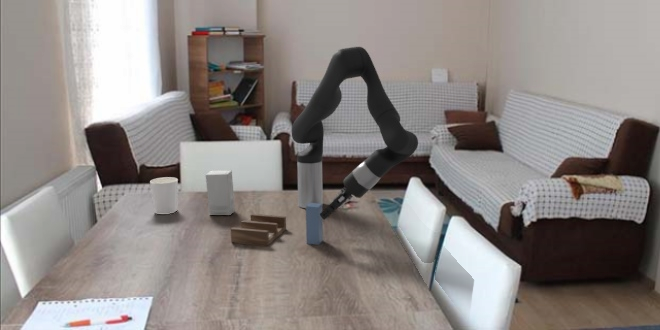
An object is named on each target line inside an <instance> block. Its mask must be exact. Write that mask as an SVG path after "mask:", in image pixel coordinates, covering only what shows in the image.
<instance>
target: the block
mask: <svg viewBox="0 0 660 330" xmlns="http://www.w3.org/2000/svg"><path fill="white" fill-rule="evenodd" d="M321 212H323V205H322V204H319V203H309V204H308V205H307V206H306V208H305V221H306V222H305V224H306V225H305V226H306V227H305V229H306V231H305V232H306V244H308V245H318V246H319V245H321V243H322V242H323V241H324V240H323V239H324V238H323V237H324V235H323V234H324V230H323V228H324V227H323V226H324V224H323V223H324V219H323V218H322V217H321V216H320V213H321Z"/></svg>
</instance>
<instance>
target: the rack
mask: <svg viewBox="0 0 660 330" xmlns="http://www.w3.org/2000/svg"><path fill="white" fill-rule="evenodd" d="M286 230H287V216H285V215H283V216H282V215H273V214H259V213H251V214H250V220H243V219H242V220H241V222H240V227H232V228H230V242H236V243H235V244H240V243H243V245H250V244H252V245H251V246H260V245H261V246H262V247H268V246H269V245H270V244H272V242H274V241H275V240H276V239H277V238H278V237H279V236H280V235H281V234H282V233H284V232H285V231H286Z"/></svg>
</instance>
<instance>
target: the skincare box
mask: <svg viewBox="0 0 660 330" xmlns="http://www.w3.org/2000/svg"><path fill="white" fill-rule="evenodd" d="M205 182H206V191H207V192H206V194H207V205H208V214H210V215H231V214H232V213H235V211H236V209H235V194H234V192H235V191H234V182H233V171H232V170H231V169H230V170H210V171H209V172H208V173H206V174H205ZM231 216H232V215H231Z"/></svg>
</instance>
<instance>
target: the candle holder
mask: <svg viewBox="0 0 660 330" xmlns="http://www.w3.org/2000/svg"><path fill="white" fill-rule="evenodd" d="M178 181H179V179H178V178H177V177H173V176H172V177H171V176H169V177H168V176H165V177H157V178H153V179H151V180H150V181H149V184H150V185H149V186H150V190H151V198H152V204H153V211H155V212H157V213H170V212H175V211H177V210H178V211H179V196H178V195H179V191H178V190H179V187H178V185H179V184H178V183H179V182H178ZM178 211H177V212H178ZM155 212H154V213H155Z"/></svg>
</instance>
